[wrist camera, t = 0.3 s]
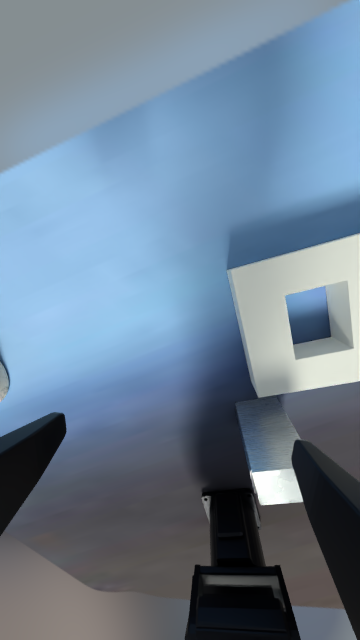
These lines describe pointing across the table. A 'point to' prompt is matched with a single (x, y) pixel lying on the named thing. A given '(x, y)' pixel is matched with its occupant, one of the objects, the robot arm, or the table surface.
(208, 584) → the robot arm
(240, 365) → the table surface
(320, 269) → the hub block
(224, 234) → the table surface
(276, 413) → the keyed peg
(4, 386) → the teacup with lid
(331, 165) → the table surface
